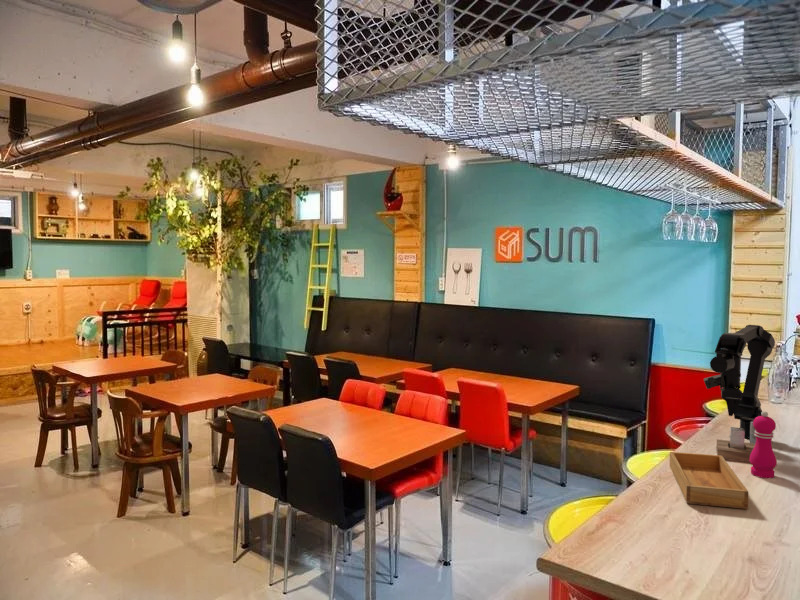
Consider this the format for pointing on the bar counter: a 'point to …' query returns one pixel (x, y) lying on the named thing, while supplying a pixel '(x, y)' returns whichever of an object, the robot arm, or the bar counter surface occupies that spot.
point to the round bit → (752, 433)
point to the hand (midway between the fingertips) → (729, 412)
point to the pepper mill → (763, 447)
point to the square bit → (737, 438)
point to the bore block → (734, 451)
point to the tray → (708, 480)
